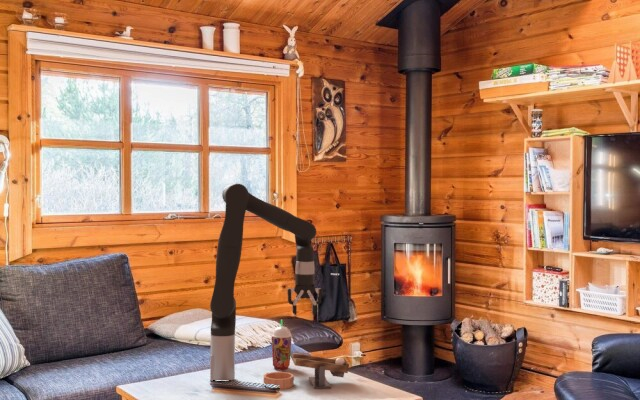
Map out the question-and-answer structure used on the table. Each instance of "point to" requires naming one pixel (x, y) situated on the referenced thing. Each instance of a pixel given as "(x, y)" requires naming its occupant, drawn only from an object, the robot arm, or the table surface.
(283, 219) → the robot arm
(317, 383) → the stand
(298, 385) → the table surface
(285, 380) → the orange bowl
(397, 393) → the table surface
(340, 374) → the lever
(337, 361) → the ball
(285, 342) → the smoothie
